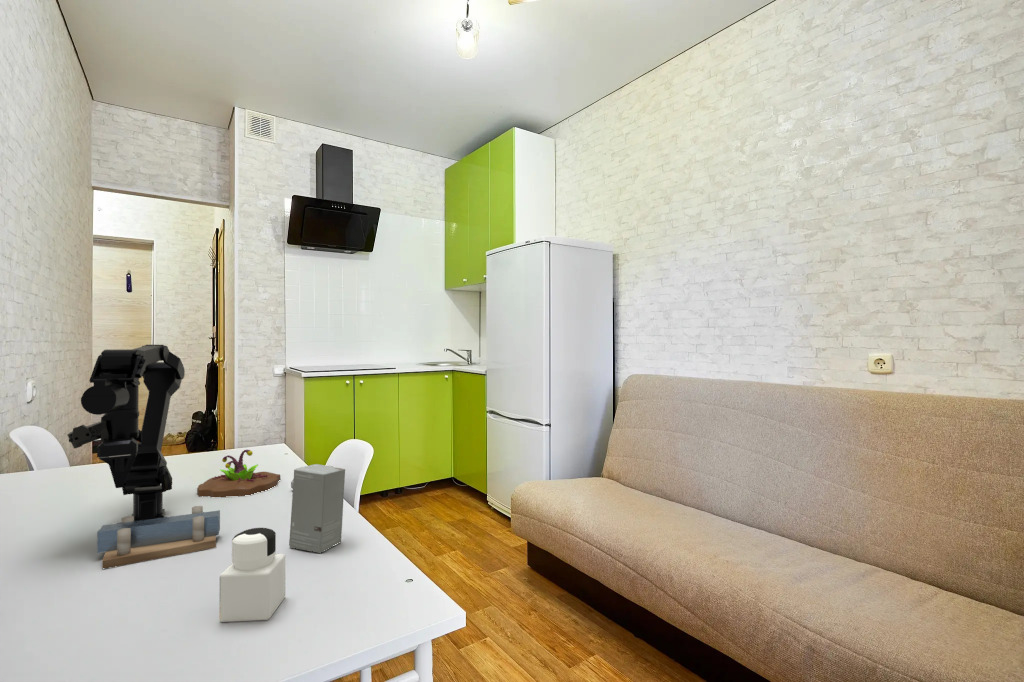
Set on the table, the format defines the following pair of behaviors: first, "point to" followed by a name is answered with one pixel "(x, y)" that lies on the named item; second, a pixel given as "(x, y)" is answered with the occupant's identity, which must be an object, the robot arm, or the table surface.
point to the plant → (238, 480)
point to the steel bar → (157, 530)
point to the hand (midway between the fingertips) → (121, 482)
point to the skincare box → (317, 507)
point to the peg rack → (157, 545)
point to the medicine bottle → (252, 577)
